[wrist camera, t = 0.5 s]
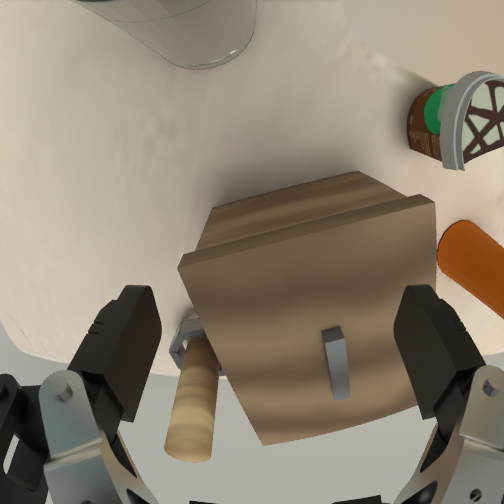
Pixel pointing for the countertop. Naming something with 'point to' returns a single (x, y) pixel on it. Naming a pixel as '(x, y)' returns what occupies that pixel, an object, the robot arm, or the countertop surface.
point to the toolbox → (312, 300)
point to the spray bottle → (474, 263)
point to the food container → (459, 119)
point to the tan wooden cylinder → (194, 404)
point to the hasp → (186, 332)
